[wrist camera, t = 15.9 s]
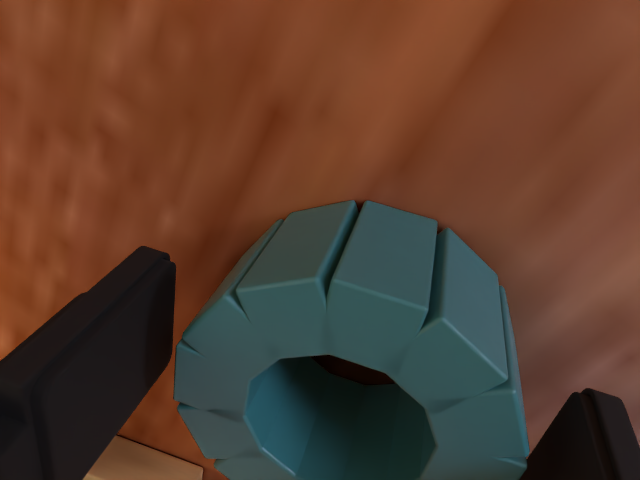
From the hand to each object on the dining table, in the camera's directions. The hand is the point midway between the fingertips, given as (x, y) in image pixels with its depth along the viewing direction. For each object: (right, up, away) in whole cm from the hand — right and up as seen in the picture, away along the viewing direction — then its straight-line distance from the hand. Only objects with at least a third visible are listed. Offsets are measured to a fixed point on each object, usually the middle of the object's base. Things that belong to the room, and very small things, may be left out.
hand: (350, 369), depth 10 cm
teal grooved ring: (0, +1, +1) cm, 1 cm away
